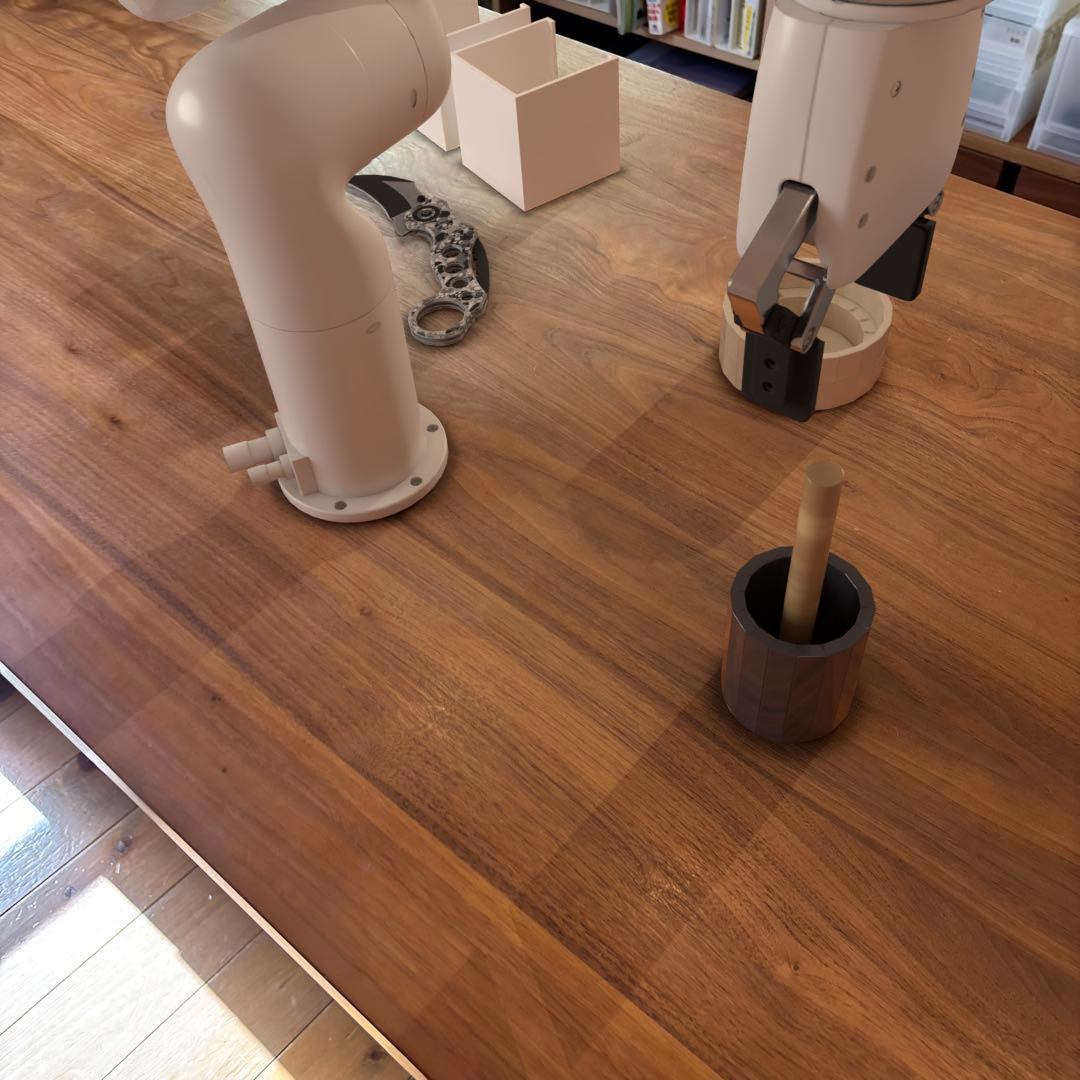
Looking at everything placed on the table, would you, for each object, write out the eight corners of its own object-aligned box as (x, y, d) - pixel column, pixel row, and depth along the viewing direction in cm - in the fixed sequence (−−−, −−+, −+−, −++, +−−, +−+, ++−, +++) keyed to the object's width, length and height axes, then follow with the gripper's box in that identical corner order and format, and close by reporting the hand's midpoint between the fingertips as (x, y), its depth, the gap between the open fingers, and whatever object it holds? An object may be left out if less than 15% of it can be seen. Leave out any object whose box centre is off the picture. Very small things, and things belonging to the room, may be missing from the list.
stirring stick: (780, 703, 65) (818, 491, 52) (765, 680, 66) (798, 466, 53) (807, 693, 66) (852, 479, 52) (791, 669, 67) (831, 455, 53)
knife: (332, 173, 107) (431, 144, 108) (336, 187, 108) (434, 158, 109) (404, 348, 89) (521, 311, 90) (408, 362, 90) (524, 326, 91)
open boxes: (392, 110, 117) (374, 4, 108) (480, 77, 120) (469, -29, 112) (524, 211, 102) (515, 97, 94) (619, 170, 106) (618, 57, 98)
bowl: (767, 435, 81) (774, 377, 77) (692, 340, 89) (694, 283, 84) (912, 388, 83) (926, 329, 79) (826, 299, 91) (835, 241, 87)
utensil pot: (759, 766, 63) (774, 676, 56) (698, 665, 68) (706, 572, 61) (875, 720, 65) (903, 627, 58) (808, 624, 70) (826, 529, 63)
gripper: (909, -167, 42) (849, 227, 55) (652, 7, 34) (652, 425, 46) (1110, -138, 39) (997, 274, 52) (880, 63, 30) (812, 497, 43)
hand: (833, 345), depth 49 cm, fingers open, 9 cm apart
